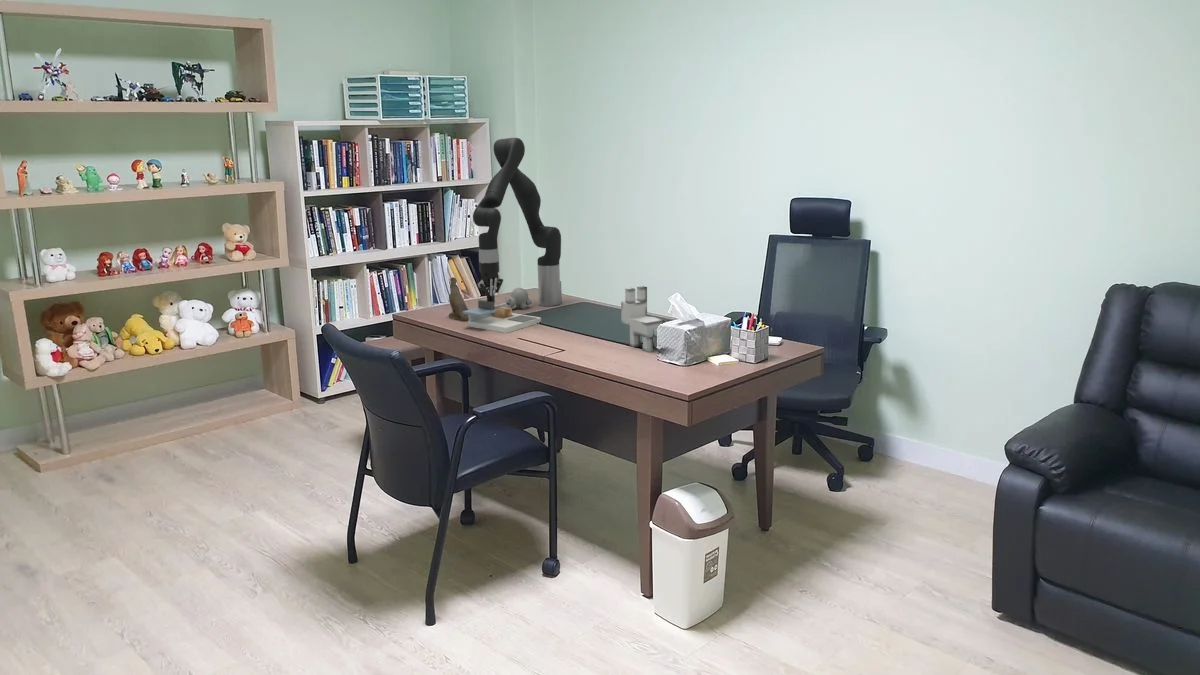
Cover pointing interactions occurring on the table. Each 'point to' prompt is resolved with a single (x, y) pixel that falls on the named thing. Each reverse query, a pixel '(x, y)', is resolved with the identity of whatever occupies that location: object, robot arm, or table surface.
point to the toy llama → (639, 319)
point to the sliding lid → (482, 308)
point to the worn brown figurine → (457, 302)
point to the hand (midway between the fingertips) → (491, 304)
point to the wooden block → (503, 312)
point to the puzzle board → (502, 321)
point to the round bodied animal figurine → (518, 299)
